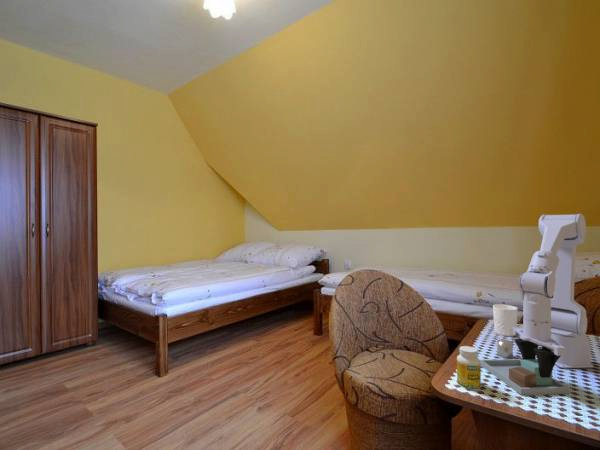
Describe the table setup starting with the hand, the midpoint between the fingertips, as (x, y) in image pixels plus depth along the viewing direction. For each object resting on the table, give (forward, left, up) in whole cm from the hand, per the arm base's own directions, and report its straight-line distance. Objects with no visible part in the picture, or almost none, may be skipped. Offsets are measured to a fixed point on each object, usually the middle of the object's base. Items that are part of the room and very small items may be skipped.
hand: (537, 372), depth 80 cm
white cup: (-18, -37, -3) cm, 41 cm away
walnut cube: (+5, +2, -3) cm, 6 cm away
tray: (+3, -2, -3) cm, 5 cm away
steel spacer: (-3, -16, -3) cm, 17 cm away
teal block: (0, 0, -2) cm, 2 cm away
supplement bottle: (+18, 0, -3) cm, 18 cm away
